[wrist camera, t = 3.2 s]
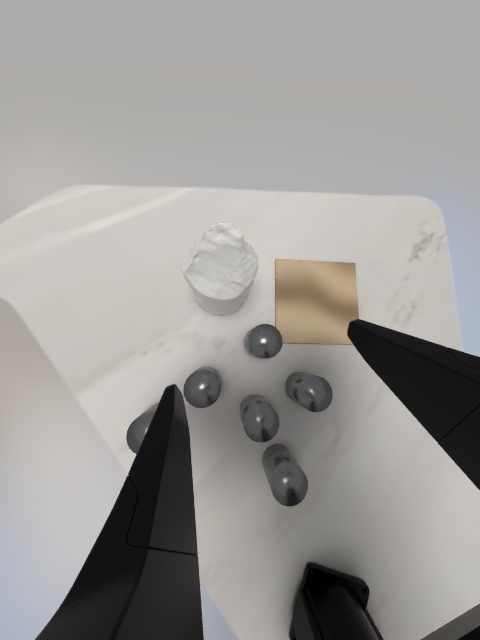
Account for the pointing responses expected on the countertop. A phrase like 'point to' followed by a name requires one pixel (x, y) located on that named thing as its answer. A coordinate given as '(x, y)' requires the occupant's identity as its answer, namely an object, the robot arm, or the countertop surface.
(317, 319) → the mat
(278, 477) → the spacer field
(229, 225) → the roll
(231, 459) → the countertop surface
